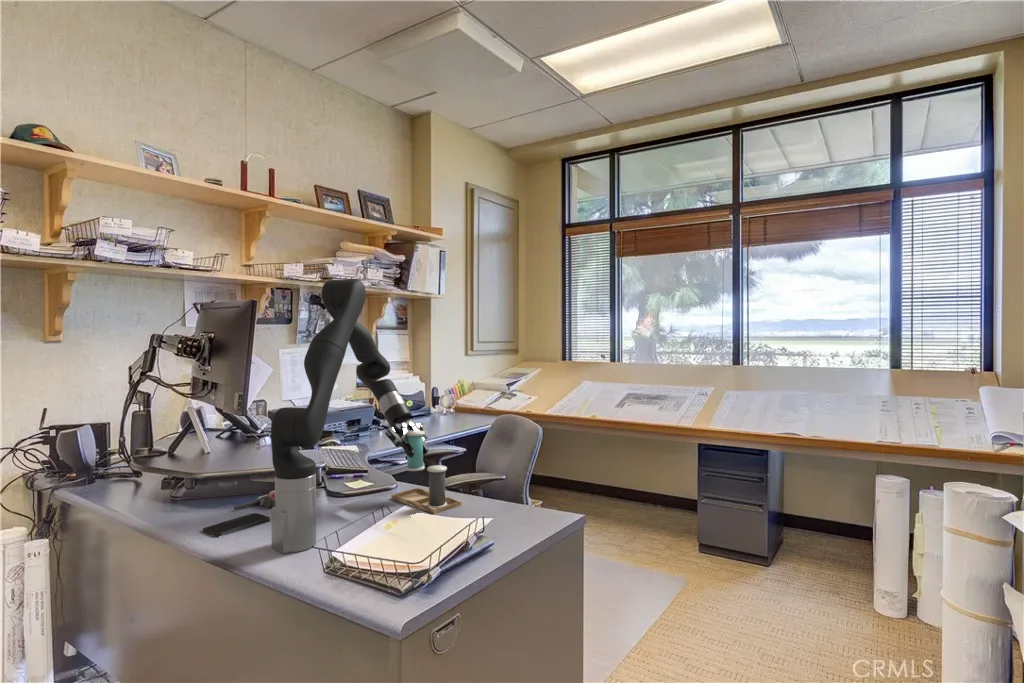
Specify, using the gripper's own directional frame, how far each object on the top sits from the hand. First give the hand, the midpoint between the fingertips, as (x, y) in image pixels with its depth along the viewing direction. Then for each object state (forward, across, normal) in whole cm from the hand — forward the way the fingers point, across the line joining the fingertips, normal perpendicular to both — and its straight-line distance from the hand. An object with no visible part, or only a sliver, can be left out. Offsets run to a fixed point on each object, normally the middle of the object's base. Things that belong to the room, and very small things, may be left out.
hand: (419, 454), depth 167 cm
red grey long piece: (-11, -30, +34) cm, 46 cm away
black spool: (+15, 0, +4) cm, 16 cm away
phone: (-4, -44, +26) cm, 51 cm away
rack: (+13, 0, +8) cm, 15 cm away
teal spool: (+2, 0, +5) cm, 5 cm away
